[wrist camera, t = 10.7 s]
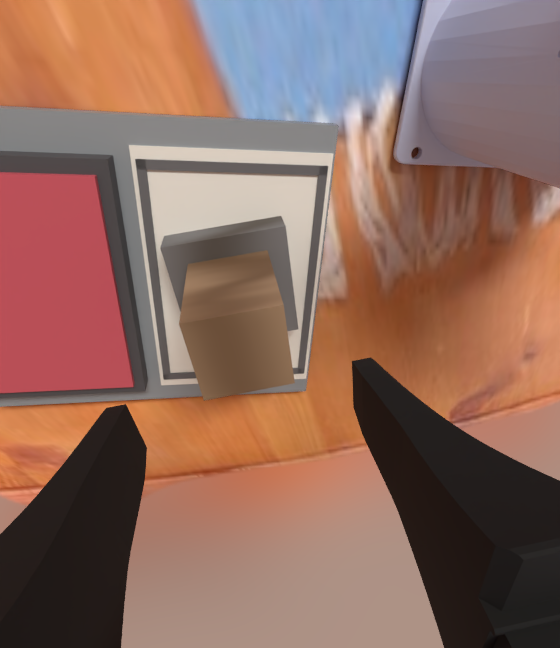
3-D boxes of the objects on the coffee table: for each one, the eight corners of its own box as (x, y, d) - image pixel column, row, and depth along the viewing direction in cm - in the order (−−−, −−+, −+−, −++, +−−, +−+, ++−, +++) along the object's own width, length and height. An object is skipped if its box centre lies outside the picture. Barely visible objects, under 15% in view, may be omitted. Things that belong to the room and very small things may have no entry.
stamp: (280, 215, 18) (308, 275, 13) (293, 314, 21) (320, 396, 16) (164, 235, 18) (142, 305, 13) (193, 332, 21) (185, 422, 16)
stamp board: (332, 123, 18) (347, 129, 16) (302, 380, 25) (309, 405, 24) (-126, 98, 15) (-177, 103, 13) (0, 394, 23) (-20, 424, 21)
